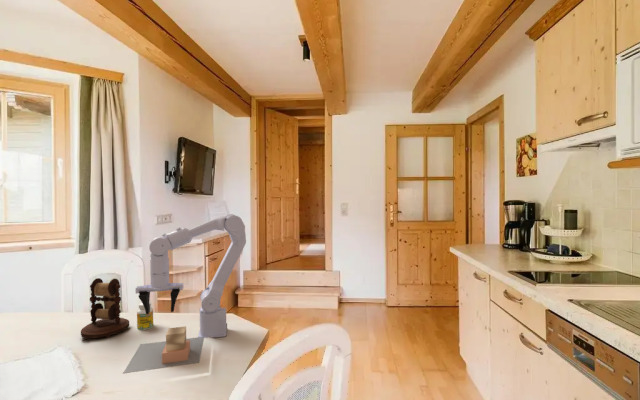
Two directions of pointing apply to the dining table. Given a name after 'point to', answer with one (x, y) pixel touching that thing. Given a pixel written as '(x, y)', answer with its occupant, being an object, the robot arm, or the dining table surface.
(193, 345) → the build board
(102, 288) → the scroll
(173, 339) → the beech cube
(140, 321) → the supplement bottle
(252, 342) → the dining table surface
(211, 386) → the dining table surface
